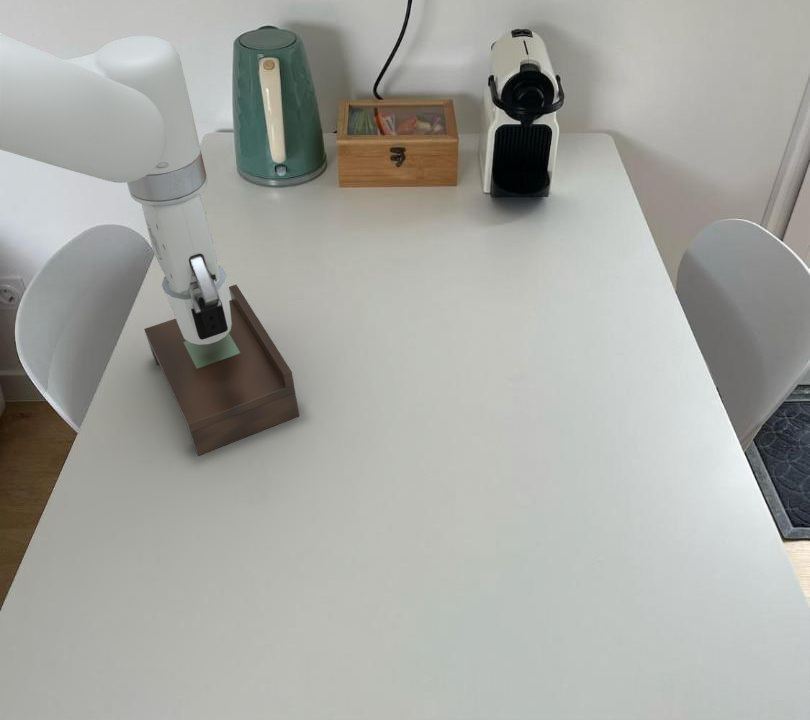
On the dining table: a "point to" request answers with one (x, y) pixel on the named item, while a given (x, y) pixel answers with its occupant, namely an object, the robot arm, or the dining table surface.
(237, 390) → the shelf
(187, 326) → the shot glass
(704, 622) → the dining table surface
